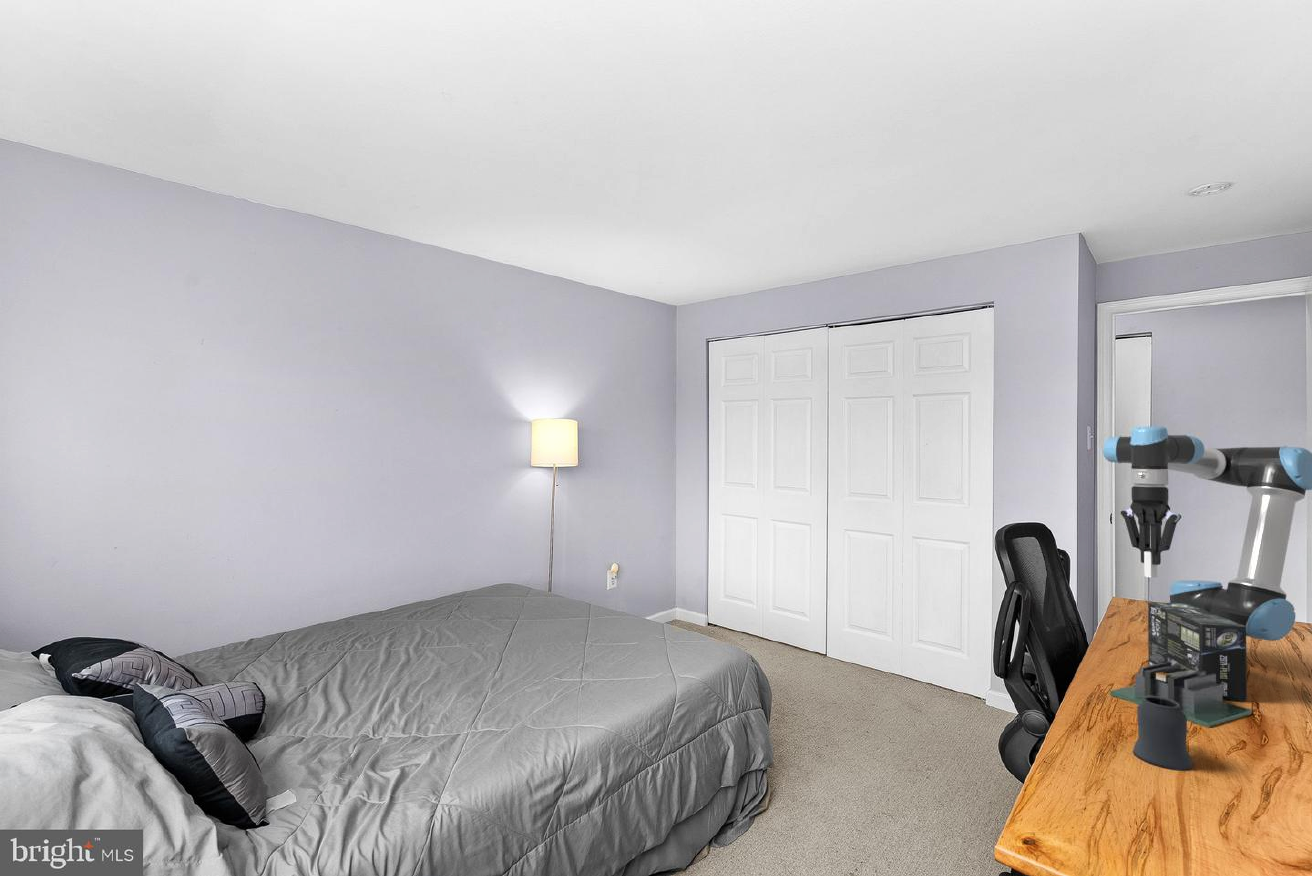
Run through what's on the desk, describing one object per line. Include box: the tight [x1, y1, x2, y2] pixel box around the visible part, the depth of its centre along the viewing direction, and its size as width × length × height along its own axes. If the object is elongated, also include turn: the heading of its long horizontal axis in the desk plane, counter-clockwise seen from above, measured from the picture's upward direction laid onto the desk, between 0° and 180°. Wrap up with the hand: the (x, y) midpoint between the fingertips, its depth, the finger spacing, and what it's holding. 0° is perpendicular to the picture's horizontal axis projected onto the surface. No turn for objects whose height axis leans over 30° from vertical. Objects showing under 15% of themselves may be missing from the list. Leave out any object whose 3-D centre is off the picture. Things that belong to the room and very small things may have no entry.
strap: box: [1156, 669, 1198, 682], centre depth 148 cm, size 16×3×2 cm, turn 114°
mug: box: [1132, 696, 1194, 772], centre depth 122 cm, size 12×9×11 cm
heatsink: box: [1109, 662, 1252, 728], centre depth 148 cm, size 18×20×8 cm
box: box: [1147, 601, 1248, 703], centre depth 162 cm, size 23×10×19 cm, turn 168°
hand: (1150, 576), depth 160 cm, fingers closed
